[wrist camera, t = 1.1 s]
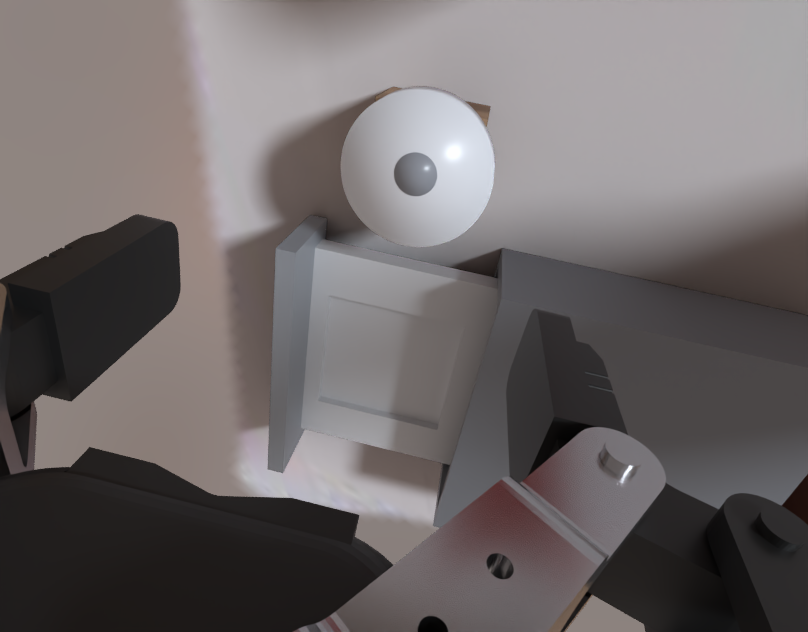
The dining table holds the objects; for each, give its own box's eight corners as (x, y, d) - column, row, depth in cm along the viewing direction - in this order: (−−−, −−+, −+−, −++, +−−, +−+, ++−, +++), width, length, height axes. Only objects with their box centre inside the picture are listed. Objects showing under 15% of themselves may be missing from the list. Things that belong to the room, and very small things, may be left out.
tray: (595, 278, 28) (612, 324, 23) (517, 471, 35) (519, 533, 31) (305, 213, 29) (270, 247, 24) (292, 415, 36) (263, 468, 32)
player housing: (809, 315, 27) (881, 384, 22) (677, 512, 35) (706, 596, 30) (502, 248, 28) (501, 298, 23) (443, 454, 36) (433, 525, 31)
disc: (512, 103, 21) (512, 108, 19) (475, 247, 24) (473, 261, 23) (359, 71, 21) (348, 75, 20) (343, 218, 24) (333, 230, 23)
